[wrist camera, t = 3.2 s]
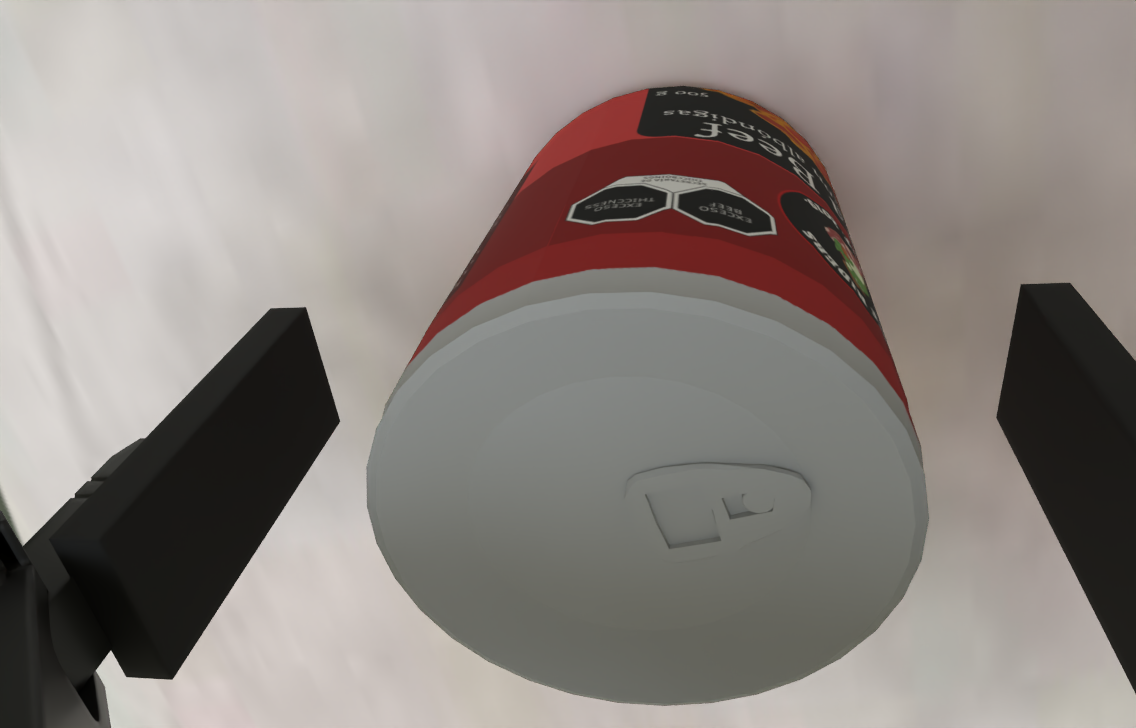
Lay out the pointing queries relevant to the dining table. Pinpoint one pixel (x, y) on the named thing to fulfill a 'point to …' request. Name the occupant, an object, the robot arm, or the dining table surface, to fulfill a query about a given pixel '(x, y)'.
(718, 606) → the canned food
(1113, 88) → the dining table surface
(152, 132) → the dining table surface
